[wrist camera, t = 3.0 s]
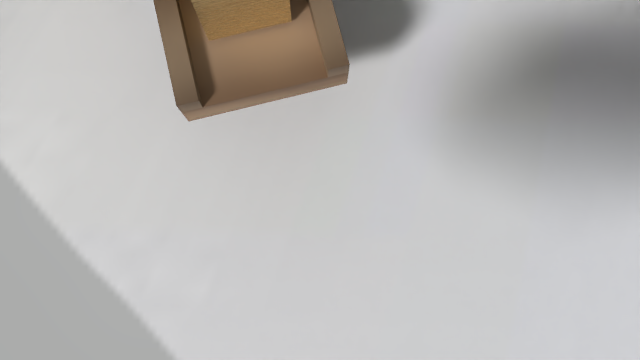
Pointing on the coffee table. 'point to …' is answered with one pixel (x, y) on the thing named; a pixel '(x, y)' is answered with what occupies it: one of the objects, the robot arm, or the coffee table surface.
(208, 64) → the balance beam
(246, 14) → the brass rider
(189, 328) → the coffee table surface
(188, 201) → the coffee table surface
